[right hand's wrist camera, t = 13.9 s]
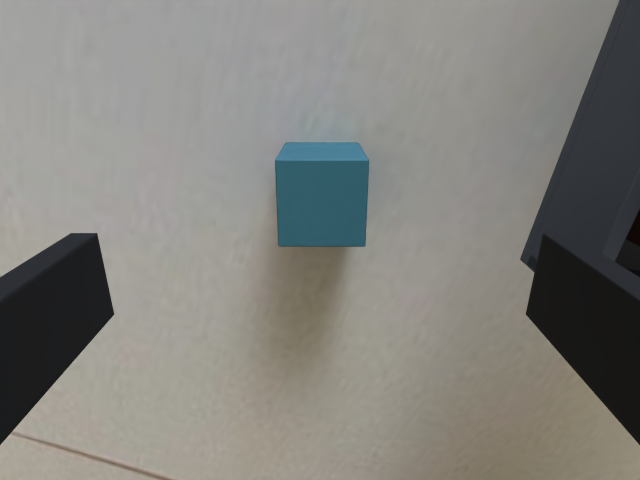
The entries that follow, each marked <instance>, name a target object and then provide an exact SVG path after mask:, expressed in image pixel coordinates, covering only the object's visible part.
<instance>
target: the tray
mask: <svg viewBox="0 0 640 480" xmlns="http://www.w3.org/2000/svg"><path fill="white" fill-rule="evenodd" d="M639 210H640V0H620V1H619V3H618V6H617V8H616V11H615V14H614V16H613V19H612V21H611V24H610V27H609V29H608V32H607V34H606V37H605V40H604V42H603V45H602V47H601V50H600V53H599V55H598V58H597V60H596V63H595V66H594V68H593V71H592V73H591V76H590V79H589V81H588V84H587V86H586V89H585V92H584V94H583V97H582V99H581V102H580V105H579V107H578V110H577V112H576V115H575V118H574V120H573V123H572V125H571V128H570V131H569V133H568V136H567V138H566V141H565V144H564V146H563V149H562V151H561V154H560V157H559V159H558V162H557V164H556V167H555V170H554V172H553V175H552V177H551V180H550V183H549V185H548V188H547V190H546V193H545V196H544V198H543V201H542V203H541V206H540V209H539V211H538V214H537V216H536V219H535V222H534V224H533V227H532V229H531V232H530V235H529V237H528V240H527V242H526V245H525V247H524V250H523V253H522V255H521V258H520V260H521V261H522V262H524V263H525V264H526V265H527V266H528V267H529V268H530V269H531V270H532V271H533V272H535V269H536V264H537V259H538V254H539V250H540V245H541V240H542V235H543V233H569V234H571V235H572V236H574V237H576V238H577V239H579V240H581V241H582V242H584V243H585V244H587V245H589V246H590V247H592V248H593V249H595V250H597V251H598V252H600V253H601V254H603V255H605V256H606V257H608V258H609V259H611V260H613V261H614V262H616V263H617V264H619V265H621V266H622V267H624V268H625V269H627V270H629V271H630V272H632V273H634V274H635V275H637V276H638V277H640V246H638V245H636V244H634V243H632V242H630V241H628V240H626V237H627V235H628V233H629V231H630V229H631V227H632V224H633V222H634V220H635V218H636V216H637V214H638V212H639Z"/></svg>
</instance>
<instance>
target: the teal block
mask: <svg viewBox="0 0 640 480" xmlns="http://www.w3.org/2000/svg"><path fill="white" fill-rule="evenodd" d="M275 171H276V197H277V223H278V245H279V246H315V247H364V246H365V244H366V220H367V197H368V173H369V160H368V158H367V156H366V155H365V153H364V152H363V150H362V148H361V147H360V145H359V143H285V145H284V146H283V148H282V150H281V151H280V153H279V155H278V156H277V158H276V160H275Z"/></svg>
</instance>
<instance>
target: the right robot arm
mask: <svg viewBox="0 0 640 480" xmlns="http://www.w3.org/2000/svg"><path fill="white" fill-rule="evenodd" d="M113 315H114V311H113V307H112V302H111V297H110V292H109V288H108V283H107V278H106V273H105V269H104V264H103V259H102V254H101V250H100V245H99V240H98V235H97V233H71V234H69V235H68V236H66V237H64V238H63V239H61V240H59V241H58V242H56V243H55V244H53V245H51V246H50V247H48V248H47V249H45V250H43V251H42V252H40V253H39V254H37V255H35V256H34V257H32V258H31V259H29V260H27V261H26V262H24V263H23V264H21V265H19V266H18V267H16V268H15V269H13V270H11V271H10V272H8V273H6V274H5V275H3V276H2V277H0V445H1V443H2V442H3V441H4V440H5V439H6V438H7V437H8V435H9V434H10V433H11V432H12V431H13V430H14V429H15V427H16V426H17V425H18V424H19V423H20V422H21V421H22V419H23V418H24V417H25V416H26V415H27V414H28V413H29V411H30V410H31V409H32V408H33V407H34V406H35V404H36V403H37V402H38V401H39V400H40V399H41V398H42V396H43V395H44V394H45V393H46V392H47V391H48V390H49V388H50V387H51V386H52V385H53V384H54V383H55V382H56V380H57V379H58V378H59V377H60V376H61V375H62V374H63V372H64V371H65V370H66V369H67V368H68V367H69V366H70V364H71V363H72V362H73V361H74V360H75V359H76V357H77V356H78V355H79V354H80V353H81V352H82V351H83V349H84V348H85V347H86V346H87V345H88V344H89V343H90V341H91V340H92V339H93V338H94V337H95V336H96V335H97V333H98V332H99V331H100V330H101V329H102V328H103V327H104V325H105V324H106V323H107V322H108V321H109V320H110V319H111V317H112V316H113ZM526 315H527V316H528V317H529V319H530V320H531V321H532V322H533V323H534V324H535V325H536V327H537V328H538V329H539V330H540V331H541V332H542V333H543V335H544V336H545V337H546V338H547V339H548V340H549V341H550V343H551V344H552V345H553V346H554V347H555V348H556V349H557V351H558V352H559V353H560V354H561V355H562V356H563V357H564V359H565V360H566V361H567V362H568V363H569V364H570V366H571V367H572V368H573V369H574V370H575V371H576V372H577V374H578V375H579V376H580V377H581V378H582V379H583V380H584V382H585V383H586V384H587V385H588V386H589V387H590V388H591V390H592V391H593V392H594V393H595V394H596V395H597V396H598V398H599V399H600V400H601V401H602V402H603V403H604V404H605V406H606V407H607V408H608V409H609V410H610V411H611V413H612V414H613V415H614V416H615V417H616V418H617V419H618V421H619V422H620V423H621V424H622V425H623V426H624V427H625V429H626V430H627V431H628V432H629V433H630V434H631V435H632V437H633V438H634V439H635V440H636V441H637V442H638V443H639V445H640V277H638V276H637V275H635V274H634V273H632V272H630V271H629V270H627V269H625V268H624V267H622V266H621V265H619V264H617V263H616V262H614V261H613V260H611V259H609V258H608V257H606V256H605V255H603V254H601V253H600V252H598V251H597V250H595V249H593V248H592V247H590V246H589V245H587V244H585V243H584V242H582V241H581V240H579V239H577V238H576V237H574V236H572V235H571V234H569V233H543V235H542V240H541V245H540V250H539V254H538V259H537V264H536V269H535V273H534V278H533V283H532V288H531V292H530V297H529V302H528V307H527V311H526Z"/></svg>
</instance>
